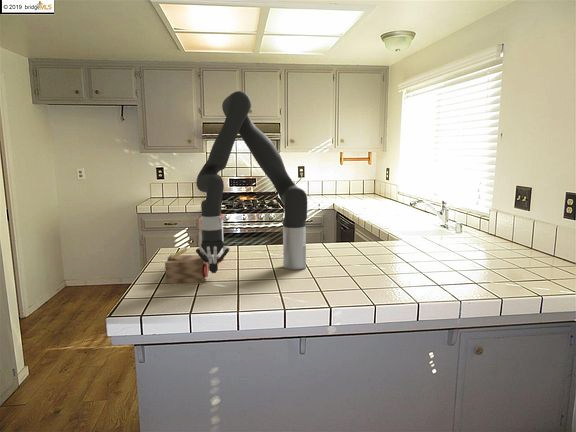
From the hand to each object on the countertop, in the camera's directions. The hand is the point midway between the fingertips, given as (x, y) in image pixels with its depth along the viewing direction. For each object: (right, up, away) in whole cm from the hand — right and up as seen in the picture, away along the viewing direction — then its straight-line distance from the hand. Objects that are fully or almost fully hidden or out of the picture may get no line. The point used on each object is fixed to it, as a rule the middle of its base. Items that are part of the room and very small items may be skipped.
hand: (213, 272), depth 154 cm
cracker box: (-4, +1, +21) cm, 22 cm away
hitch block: (-10, -3, +1) cm, 11 cm away
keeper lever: (-13, +7, -1) cm, 15 cm away
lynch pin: (-10, -2, 0) cm, 10 cm away
